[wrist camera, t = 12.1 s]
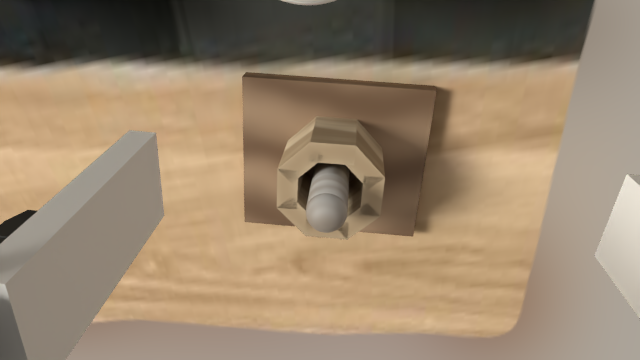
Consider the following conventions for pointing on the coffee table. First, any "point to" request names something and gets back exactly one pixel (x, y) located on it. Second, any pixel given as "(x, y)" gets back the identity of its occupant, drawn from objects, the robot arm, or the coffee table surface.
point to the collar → (335, 148)
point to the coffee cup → (308, 2)
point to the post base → (336, 101)
